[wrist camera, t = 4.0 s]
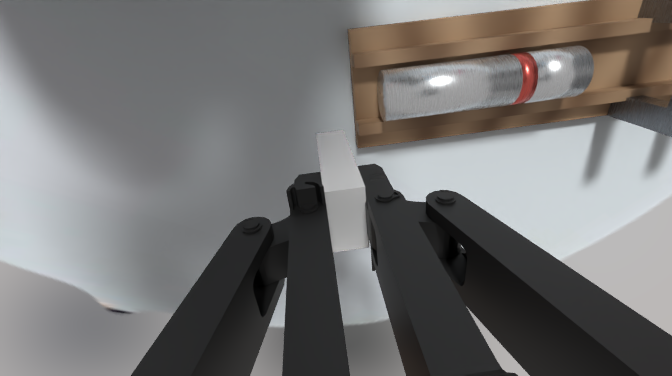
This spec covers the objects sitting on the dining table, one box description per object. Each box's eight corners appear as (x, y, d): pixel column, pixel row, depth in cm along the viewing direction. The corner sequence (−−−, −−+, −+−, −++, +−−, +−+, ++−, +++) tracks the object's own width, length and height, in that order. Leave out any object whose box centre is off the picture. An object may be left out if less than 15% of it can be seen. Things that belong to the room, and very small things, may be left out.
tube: (378, 114, 29) (389, 127, 25) (376, 66, 27) (387, 74, 23) (551, 91, 29) (585, 101, 26) (561, 43, 27) (600, 47, 24)
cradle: (356, 144, 31) (360, 154, 29) (347, 29, 26) (351, 30, 24) (730, 94, 32) (760, 100, 30) (788, -24, 28) (828, -27, 26)
